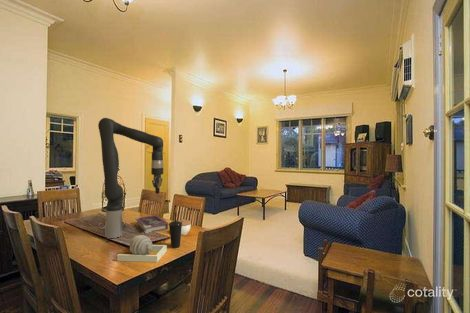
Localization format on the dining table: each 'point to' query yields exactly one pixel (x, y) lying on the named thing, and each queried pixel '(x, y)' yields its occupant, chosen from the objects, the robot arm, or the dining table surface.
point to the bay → (144, 258)
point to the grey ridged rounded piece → (141, 245)
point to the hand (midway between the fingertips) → (157, 193)
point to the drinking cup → (175, 233)
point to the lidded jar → (185, 226)
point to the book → (151, 223)
